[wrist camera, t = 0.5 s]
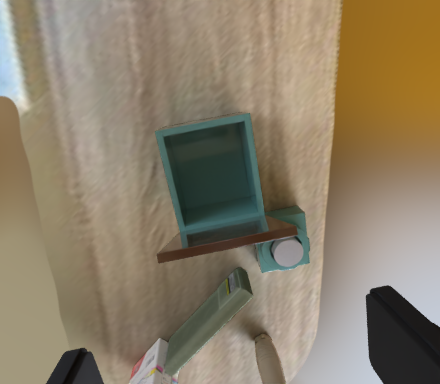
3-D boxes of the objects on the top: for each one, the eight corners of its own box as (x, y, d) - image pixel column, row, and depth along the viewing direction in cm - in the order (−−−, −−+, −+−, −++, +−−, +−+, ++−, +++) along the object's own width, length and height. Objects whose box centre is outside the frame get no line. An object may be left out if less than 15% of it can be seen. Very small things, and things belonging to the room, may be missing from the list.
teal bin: (162, 127, 41) (154, 131, 34) (240, 111, 41) (250, 112, 34) (183, 212, 45) (180, 233, 38) (254, 198, 45) (265, 216, 38)
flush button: (269, 237, 42) (272, 243, 41) (297, 232, 42) (302, 237, 41) (273, 263, 44) (276, 269, 42) (300, 257, 44) (304, 263, 42)
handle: (244, 331, 53) (262, 414, 38) (278, 326, 53) (308, 408, 39) (246, 351, 54) (263, 439, 40) (279, 347, 54) (308, 433, 40)
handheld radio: (250, 274, 49) (161, 365, 53) (236, 264, 49) (147, 356, 53) (257, 298, 43) (155, 399, 47) (241, 286, 42) (139, 390, 46)
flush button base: (249, 215, 46) (255, 227, 41) (297, 205, 46) (309, 216, 41) (257, 262, 49) (264, 279, 44) (302, 253, 49) (314, 269, 44)
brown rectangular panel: (156, 254, 23) (158, 263, 23) (296, 225, 23) (298, 235, 23) (179, 231, 37) (180, 237, 37) (265, 214, 37) (266, 220, 37)
